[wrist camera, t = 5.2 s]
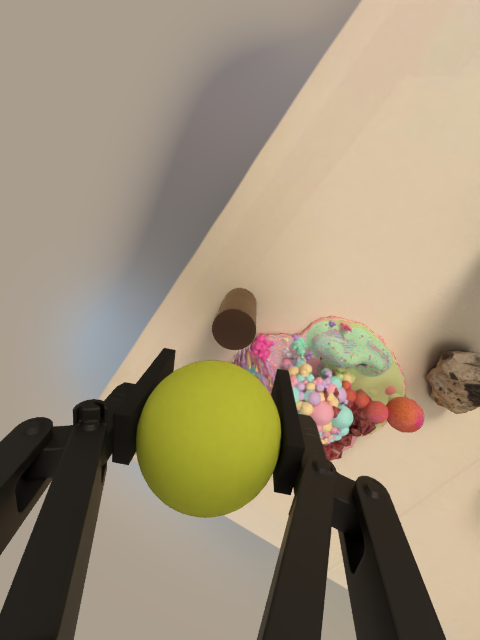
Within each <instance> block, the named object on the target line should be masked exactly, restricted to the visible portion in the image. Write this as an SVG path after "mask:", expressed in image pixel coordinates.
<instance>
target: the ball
mask: <svg viewBox="0 0 480 640" xmlns="http://www.w3.org/2000/svg"><path fill="white" fill-rule="evenodd" d="M280 447H281V424H280V418H279V414H278V411H277V407H276V405H275V403H274V401H273V399H272V396H271V395H270V393H269V392H268V390H267V389H266V387H265V386H264V385H263V384H262V383H261V382H260V380H259V379H257V378H256V377H255V376H254V375H253V374H251V373H250V372H248V371H247V370H245V369H243V368H241V367H240V366H237V365H235V364H232V363H228V362H224V361H213V360H209V361H200V362H195V363H191V364H189V365H186V366H184V367H181V368H180V369H178V370H176V371H174V372H172V373H171V374H170V375H168V376H167V377H166V378H165V379H164V380H162V381H161V382H160V383H159V384H158V385H157V387H156V388H155V389H154V390H153V392H152V393H151V395H150V396H149V398H148V399H147V401H146V403H145V405H144V407H143V409H142V412H141V415H140V418H139V422H138V426H137V433H136V452H137V459H138V463H139V466H140V469H141V472H142V475H143V476H144V479H145V480H146V482H147V484H148V486H149V487H150V489H151V490H152V491H153V493H154V494H155V495H156V496H157V497H158V498H159V499H160V500H161V501H162V502H163V503H165V504H166V505H167V506H169V507H170V508H172V509H174V510H176V511H178V512H180V513H183V514H186V515H190V516H195V517H206V518H207V517H217V516H221V515H225V514H228V513H231V512H233V511H236V510H238V509H240V508H241V507H243V506H244V505H246V504H247V503H249V502H250V501H251V500H253V499H254V498H255V497H256V496H257V495H258V494H259V493H260V491H261V490H262V489H263V488H264V487H265V485H266V484H267V482H268V480H269V479H270V477H271V475H272V473H273V472H274V469H275V466H276V464H277V461H278V458H279V453H280Z"/></svg>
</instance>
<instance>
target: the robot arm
mask: <svg viewBox="0 0 480 640" xmlns="http://www.w3.org/2000/svg"><path fill="white" fill-rule="evenodd" d="M174 360H175V350H172V349H167V348H164V349H163V350H162V351H161V353H160V354H159V355H158V356H157V358H156V359H155V360H154V361H153V363H152V364H151V365H150V367H149V368H148V369H147V370H146V372H145V373H144V374H143V376H142V377H141V378H140V379H139V381H138V382H137V383H136V384H131V383H126V382H125V383H123V384H121V385H119V386H117V387H116V388H115V389H114V390H113V391H112V393H111V394H110V395H109V396H108V397H107V399H105V400H104V401H102V400H96V399H92V400H87V401H83V402H81V403H79V404H78V405H76V406H75V407H74V409H73V425H70V426H56V427H53V422H52V421H51V420H50V419H48V418H45V417H37V418H32V419H29V420H26V421H24V422H22V423H21V424H19V425H18V426H17V427H15V428H14V429H13V430H12V431H11V432H10V433H9V434H8V435H7V436H6V437H5V438H4V439H3V440H2V441H1V442H0V555H1V553H2V552H3V551H4V549H5V548H6V546H7V545H8V543H9V542H10V540H11V539H12V537H13V536H14V535H15V533H16V532H17V530H18V529H19V527H20V526H21V524H22V523H23V521H24V520H25V518H26V517H27V516H28V514H29V513H30V511H31V510H32V508H33V507H34V505H35V504H36V502H37V501H38V500H39V498H40V497H41V495H42V494H43V492H44V491H45V489H46V488H47V487H48V485H49V483H50V482H51V481H52V482H51V485H50V487H49V490H48V492H47V495H46V497H45V500H44V503H43V505H42V508H41V510H40V513H39V515H38V518H37V521H36V523H35V526H34V528H33V531H32V533H31V536H30V539H29V541H28V544H27V546H26V549H25V552H24V554H23V556H22V559H21V562H20V564H19V567H18V569H17V572H16V574H15V577H14V580H13V582H12V585H11V588H10V590H9V592H8V595H7V598H6V600H5V603H4V605H3V608H2V610H1V613H0V640H74V635H75V630H76V624H77V619H78V614H79V609H80V604H81V599H82V593H83V589H84V583H85V578H86V573H87V568H88V563H89V558H90V552H91V547H92V542H93V537H94V532H95V527H96V522H97V517H98V511H99V506H100V501H101V496H102V491H103V486H104V481H105V475H106V471H107V461H108V459H109V457H110V456H111V454H112V462H115V463H120V464H126V465H129V463H130V462H131V460H132V458H133V456H134V454H135V452H136V433H137V426H138V422H139V418H140V415H141V412H142V409H143V407H144V405H145V403H146V401H147V399H148V398H149V396H150V395H151V393H152V392H153V390H154V389H155V388H156V387H157V385H158V384H159V383H160V382H161V381H162V380H164V379H165V378H166V377H167V376H168V375H170V374H171V373H172V372H173V370H174ZM271 396H272V399H273V401H274V403H275V405H276V407H277V411H278V414H279V418H280V424H281V447H280V453H279V458H278V461H277V464H276V466H275V469H274V472H273V482H274V492H277V493H282V494H288V495H291V492H292V489H293V487H294V494H295V496H294V499H293V502H292V505H291V508H290V511H289V514H288V515H289V517H288V521H287V525H286V529H285V533H284V537H283V541H282V544H281V548H280V553H279V556H278V560H277V564H276V568H275V571H274V576H273V579H272V583H271V587H270V591H269V595H268V599H267V602H266V606H265V610H264V614H263V618H262V622H261V626H260V629H259V634H258V638H257V640H321V630H322V620H323V610H324V598H325V589H326V579H327V568H328V558H329V548H330V537H331V527H334V528H336V529H337V530H338V533H339V538H340V544H341V550H342V556H343V562H344V568H345V573H346V579H347V585H348V591H349V596H350V602H351V608H352V614H353V620H354V625H355V631H356V637H357V640H446V638H445V635H444V633H443V630H442V628H441V625H440V622H439V620H438V617H437V615H436V612H435V610H434V607H433V605H432V602H431V600H430V597H429V594H428V592H427V589H426V587H425V584H424V582H423V579H422V577H421V574H420V571H419V569H418V566H417V564H416V561H415V559H414V556H413V554H412V551H411V549H410V546H409V543H408V541H407V538H406V536H405V533H404V531H403V528H402V526H401V523H400V520H399V518H398V515H397V513H396V510H395V508H394V505H393V503H392V500H391V498H390V495H389V493H388V491H387V490H386V488H385V487H384V486H383V485H382V484H381V483H380V482H378V481H377V480H375V479H373V478H371V477H368V476H360V477H358V478H357V480H356V481H353V480H351V479H349V478H347V477H345V476H343V475H341V474H339V473H338V472H336V468H335V467H334V465H333V464H332V463H331V462H330V461H329V460H328V459H327V458H326V454H325V451H324V448H323V444H322V441H321V438H320V434H319V432H318V428H317V424H316V422H315V421H314V420H313V418H312V417H311V416H309V415H303V414H298V412H297V407H296V402H295V398H294V393H293V388H292V384H291V379H290V375H289V371H287V370H281V369H277V372H276V376H275V380H274V384H273V388H272V392H271Z"/></svg>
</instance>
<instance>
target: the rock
mask: <svg viewBox="0 0 480 640" xmlns="http://www.w3.org/2000/svg"><path fill="white" fill-rule="evenodd" d="M426 381H429V383H430V384H431V386H432V389H433V390H432V394H431V395H430V396H431V397H433V399H434V400H435V402H436V403H437V404H438V405H440V406H443V407H446V408H447V409H448V410H450V411H452V412H454V413H456V414H460V413H466V412H468V411H471V410H474V409H476V408H478V407H480V353H477V352H469V351H462V350H454V351H447V352H442V354H441V357H440V361H439V362H438V363H437V366H436V368H432V370H431V371H430V372H429V374H428V376H427V380H426Z"/></svg>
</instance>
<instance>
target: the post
mask: <svg viewBox="0 0 480 640" xmlns="http://www.w3.org/2000/svg"><path fill="white" fill-rule="evenodd" d="M212 332H213V336H214V338H215V340H216V341H217V342H218V343H219V344H220V345H221V346H222V347H224V348H227V349H230V350H239V349H243V348H245V347H247V346H248V345H249V344H251V342H252V341H253V340H254V337H255V334H256V299H255V297H254V295H253V294H252V293H251V292H250V291H248V290H246V289H242V288H237V289H234V290H232V291H230V292H229V293H228V294H227V295H226V297H225V299H224V301H223V303H222V305H221V307H220V309H219V311H218V313H217V315H216V317H215V320H214V322H213V325H212Z"/></svg>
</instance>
